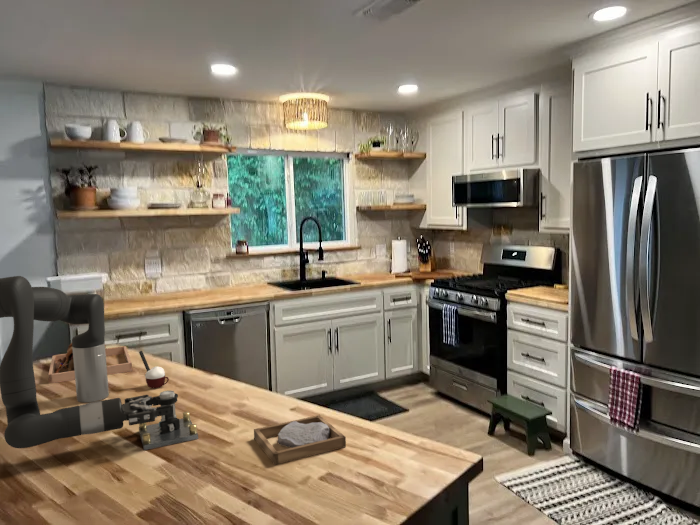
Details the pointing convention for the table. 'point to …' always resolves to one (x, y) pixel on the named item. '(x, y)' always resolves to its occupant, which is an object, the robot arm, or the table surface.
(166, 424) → the push button
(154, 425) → the plate
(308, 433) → the stone block
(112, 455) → the table surface
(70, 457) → the table surface
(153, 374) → the cocoa
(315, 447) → the block coaster frame
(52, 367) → the wooden tray
